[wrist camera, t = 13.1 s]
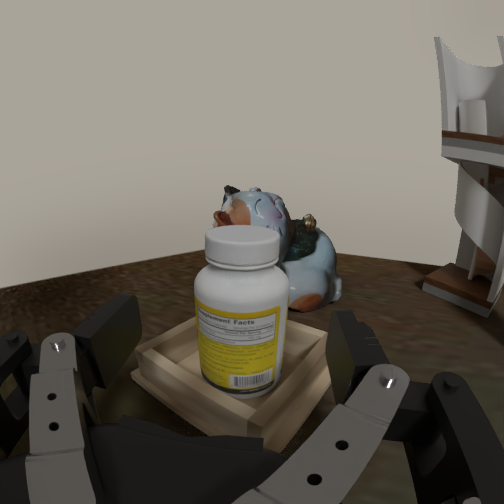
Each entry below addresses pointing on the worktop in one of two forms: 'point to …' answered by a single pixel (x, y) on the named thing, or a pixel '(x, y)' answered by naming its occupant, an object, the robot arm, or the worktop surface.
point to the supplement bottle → (241, 310)
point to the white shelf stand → (473, 180)
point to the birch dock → (222, 405)
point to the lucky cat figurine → (288, 245)
